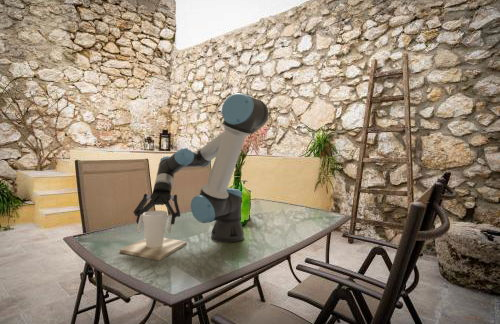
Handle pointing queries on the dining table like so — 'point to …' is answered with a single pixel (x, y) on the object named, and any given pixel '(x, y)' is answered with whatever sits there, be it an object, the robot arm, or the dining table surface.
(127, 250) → the ash board
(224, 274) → the dining table surface
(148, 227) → the foam cup
